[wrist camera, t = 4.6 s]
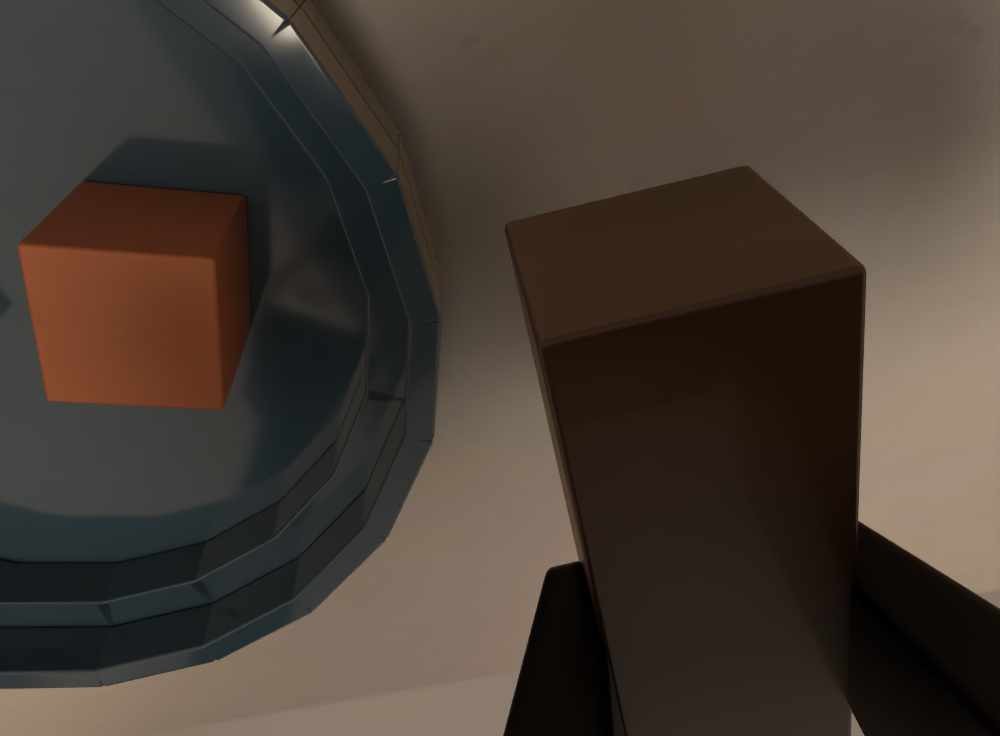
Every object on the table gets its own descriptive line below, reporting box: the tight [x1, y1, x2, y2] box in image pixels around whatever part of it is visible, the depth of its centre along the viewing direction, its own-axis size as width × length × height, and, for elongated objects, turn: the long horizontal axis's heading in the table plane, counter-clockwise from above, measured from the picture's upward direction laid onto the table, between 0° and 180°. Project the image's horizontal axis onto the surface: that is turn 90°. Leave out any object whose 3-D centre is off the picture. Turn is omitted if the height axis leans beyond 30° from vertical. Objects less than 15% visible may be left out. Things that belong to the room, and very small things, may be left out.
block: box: [18, 182, 251, 410], centre depth 15 cm, size 3×3×3 cm
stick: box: [505, 166, 866, 736], centre depth 9 cm, size 8×2×2 cm, turn 12°
